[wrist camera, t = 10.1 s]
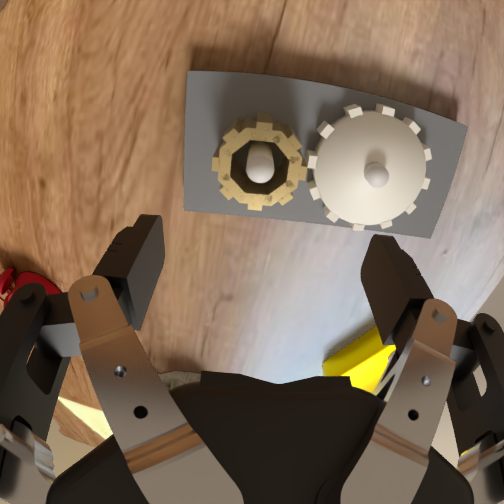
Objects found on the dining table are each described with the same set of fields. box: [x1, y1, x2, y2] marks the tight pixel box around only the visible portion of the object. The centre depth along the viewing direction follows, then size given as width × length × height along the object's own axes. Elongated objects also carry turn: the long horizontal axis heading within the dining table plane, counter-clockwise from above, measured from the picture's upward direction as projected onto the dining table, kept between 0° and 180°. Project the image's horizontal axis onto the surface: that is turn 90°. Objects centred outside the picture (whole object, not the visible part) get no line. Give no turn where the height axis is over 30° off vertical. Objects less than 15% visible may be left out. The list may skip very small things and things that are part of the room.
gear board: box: [184, 70, 468, 239], centre depth 22 cm, size 12×24×7 cm, turn 84°
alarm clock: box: [0, 268, 61, 308], centre depth 35 cm, size 10×6×15 cm
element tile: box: [322, 326, 396, 393], centre depth 40 cm, size 15×15×5 cm
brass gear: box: [212, 112, 307, 211], centre depth 21 cm, size 6×6×4 cm
